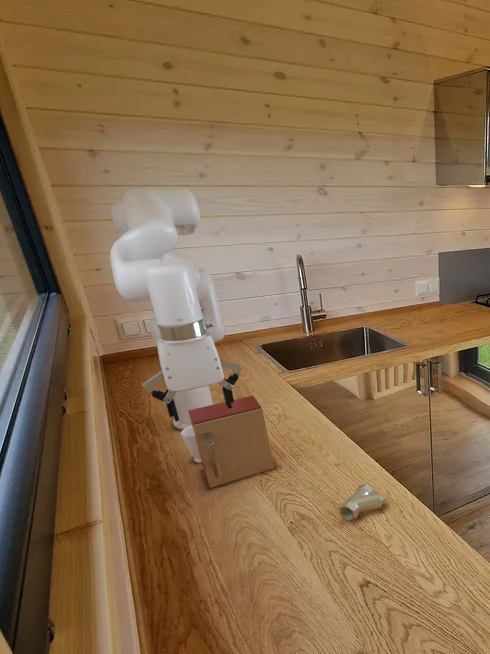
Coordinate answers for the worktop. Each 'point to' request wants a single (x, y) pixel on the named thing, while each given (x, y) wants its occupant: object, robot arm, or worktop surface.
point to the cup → (191, 443)
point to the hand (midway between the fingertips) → (203, 412)
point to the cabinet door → (234, 446)
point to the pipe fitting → (361, 502)
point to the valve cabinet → (221, 413)
